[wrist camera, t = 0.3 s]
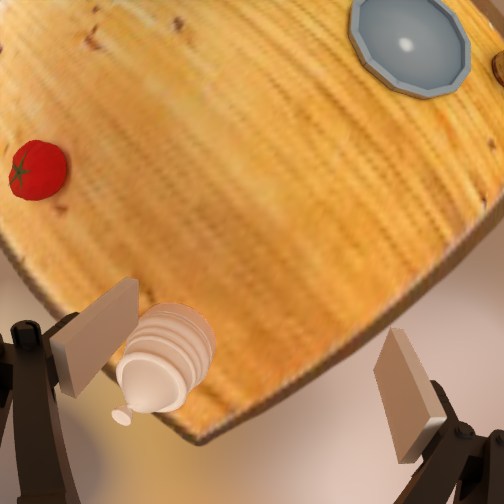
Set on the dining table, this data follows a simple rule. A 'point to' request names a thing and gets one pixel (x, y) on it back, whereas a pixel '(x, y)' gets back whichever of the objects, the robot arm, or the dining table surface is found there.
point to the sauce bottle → (499, 67)
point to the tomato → (37, 171)
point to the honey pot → (163, 360)
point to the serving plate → (411, 45)
